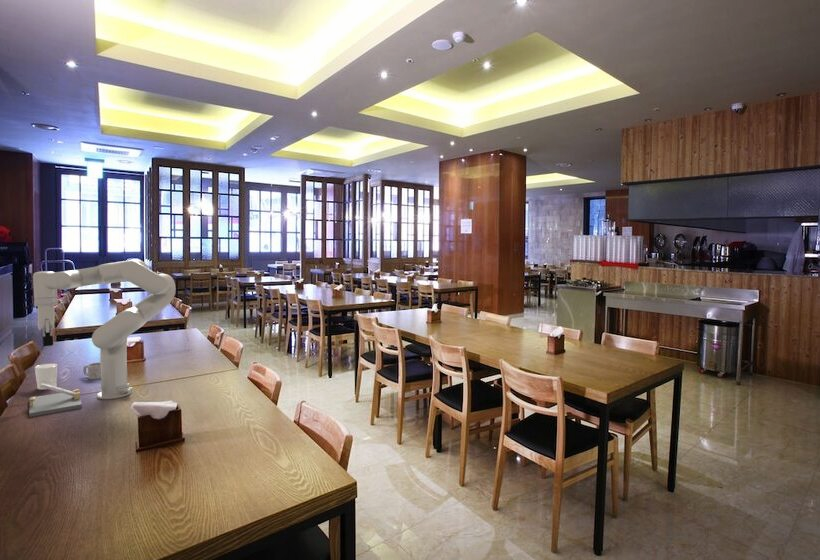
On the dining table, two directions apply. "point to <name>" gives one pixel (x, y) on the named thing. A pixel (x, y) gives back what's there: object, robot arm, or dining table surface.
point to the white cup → (46, 375)
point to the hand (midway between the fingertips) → (48, 345)
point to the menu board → (54, 403)
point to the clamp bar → (57, 389)
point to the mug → (93, 371)
